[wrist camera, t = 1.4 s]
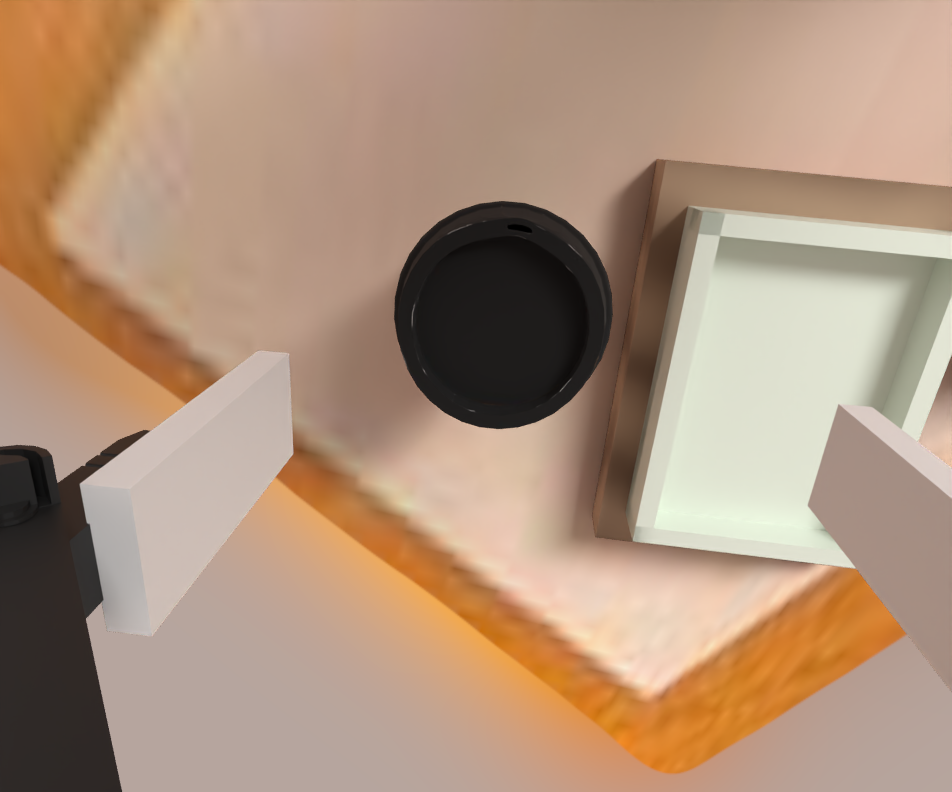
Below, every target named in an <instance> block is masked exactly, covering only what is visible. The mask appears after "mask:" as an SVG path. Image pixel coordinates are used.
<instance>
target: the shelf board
mask: <svg viewBox="0 0 952 792" xmlns="http://www.w3.org/2000/svg"><path fill="white" fill-rule="evenodd" d="M688 206H697V207H708V208H718V209H728V210H738V211H749V212H759V213H769V214H780V215H790V216H800V217H810V218H821V219H831V220H841V221H852V222H862V223H872V224H883V225H893V226H903V227H913V228H924V229H934V230H944V231H952V187H947V186H937V185H926V184H915V183H905V182H894V181H884V180H873V179H862V178H852V177H841V176H830V175H820V174H809V173H799V172H788V171H777V170H767V169H756V168H745V167H735V166H724V165H713V164H703V163H692V162H682V161H671V160H660V159H657V161H656V167H655V172H654V178H653V183H652V189H651V194H650V200H649V205H648V211H647V216H646V222H645V227H644V233H643V238H642V244H641V249H640V255H639V260H638V266H637V271H636V277H635V282H634V288H633V293H632V299H631V304H630V310H629V315H628V321H627V326H626V332H625V337H624V343H623V348H622V354H621V359H620V365H619V370H618V375H617V381H616V386H615V392H614V397H613V403H612V408H611V414H610V419H609V425H608V430H607V436H606V441H605V447H604V452H603V458H602V463H601V469H600V474H599V480H598V485H597V491H596V496H595V502H594V507H593V513H592V518H593V525H594V531H595V537H598V538H606V539H614V540H623V541H631V542H634V541H632V537H631V533H630V529H629V525H628V521H627V517H626V513H625V512H626V507H627V502H628V497H629V493H630V488H631V483H632V478H633V473H634V468H635V463H636V458H637V453H638V449H639V444H640V439H641V434H642V429H643V424H644V419H645V414H646V410H647V405H648V400H649V395H650V390H651V385H652V380H653V375H654V371H655V366H656V361H657V356H658V351H659V346H660V341H661V336H662V332H663V327H664V322H665V317H666V312H667V307H668V302H669V297H670V292H671V288H672V283H673V278H674V273H675V268H676V263H677V258H678V253H679V249H680V244H681V239H682V234H683V229H684V224H685V219H686V214H687V210H688ZM639 543H643V542H639ZM647 544H651V543H647ZM655 545H659V544H655ZM664 546H667V545H664ZM672 547H676V546H672ZM680 548H684V547H680ZM688 549H692V548H688ZM697 550H700V549H697ZM705 551H708V550H705ZM713 552H717V551H713ZM721 553H725V552H721ZM730 554H733V553H730ZM738 555H741V554H738ZM746 556H750V555H746ZM754 557H758V556H754ZM762 558H766V557H762ZM771 559H774V558H771ZM779 560H782V559H779ZM787 561H791V560H787ZM795 562H799V561H795ZM804 563H807V562H804ZM812 564H815V563H812ZM820 565H824V564H820ZM828 566H832V565H828ZM836 567H840V566H836ZM845 568H848V567H845ZM853 569H856V568H853Z"/></svg>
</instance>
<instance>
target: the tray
mask: <svg viewBox="0 0 952 792" xmlns="http://www.w3.org/2000/svg"><path fill="white" fill-rule="evenodd" d="M951 355H952V231H944V230H934V229H924V228H913V227H903V226H893V225H883V224H872V223H862V222H852V221H841V220H831V219H821V218H810V217H800V216H790V215H780V214H769V213H759V212H749V211H738V210H728V209H718V208H708V207H697V206H688V210H687V214H686V219H685V224H684V229H683V234H682V239H681V244H680V249H679V253H678V258H677V263H676V268H675V273H674V278H673V283H672V288H671V292H670V297H669V302H668V307H667V312H666V317H665V322H664V327H663V332H662V336H661V341H660V346H659V351H658V356H657V361H656V366H655V371H654V375H653V380H652V385H651V390H650V395H649V400H648V405H647V410H646V414H645V419H644V424H643V429H642V434H641V439H640V444H639V449H638V453H637V458H636V463H635V468H634V473H633V478H632V483H631V488H630V493H629V497H628V502H627V507H626V512H625V513H626V517H627V521H628V525H629V529H630V533H631V537H632V541H634V542H643V543H651V544H659V545H667V546H676V547H684V548H692V549H700V550H708V551H717V552H725V553H733V554H741V555H750V556H758V557H766V558H774V559H782V560H791V561H799V562H807V563H815V564H824V565H832V566H840V567H848V568H855V566H854V565H853V564H852V562H851V561H850V560H849V559H848V557H847V556H846V555H845V553H844V552H843V551H842V550H841V548H840V547H839V546H838V544H837V543H836V542H835V540H834V539H833V538H832V537H831V535H830V534H829V533H828V531H827V530H826V529H825V527H824V526H823V525H822V524H821V522H820V521H819V520H818V518H817V517H816V516H815V515H814V513H813V512H812V511H811V509H810V508H809V507H808V502H809V499H810V496H811V492H812V489H813V486H814V482H815V479H816V476H817V473H818V469H819V466H820V463H821V459H822V456H823V453H824V450H825V446H826V443H827V440H828V437H829V433H830V430H831V427H832V423H833V420H834V417H835V414H836V410H837V407H838V404H845V405H856V406H867V407H873V408H874V409H875V410H877V411H878V412H879V413H880V414H882V415H883V416H884V417H886V418H887V419H888V420H890V421H891V422H892V423H894V424H895V425H896V426H898V427H899V428H900V429H901V430H903V431H904V432H905V433H907V434H908V435H909V436H911V437H912V438H913V439H915V440H916V441H917V442H918V440H919V438H920V435H921V432H922V430H923V427H924V425H925V422H926V420H927V417H928V414H929V412H930V409H931V407H932V404H933V402H934V399H935V396H936V394H937V391H938V389H939V386H940V384H941V381H942V378H943V376H944V373H945V371H946V368H947V366H948V363H949V360H950V358H951Z"/></svg>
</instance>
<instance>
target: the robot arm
mask: <svg viewBox="0 0 952 792" xmlns="http://www.w3.org/2000/svg"><path fill="white" fill-rule="evenodd" d="M292 455H293V432H292V408H291V384H290V360H289V353H282V352H271V351H261V350H258V351H257V352H256V353H254V354H253V355H252V356H250V357H249V358H248V359H246V360H245V361H244V362H242V363H241V364H240V365H238V366H237V367H236V368H234V369H233V370H232V371H230V372H229V373H228V374H226V375H225V376H223V377H222V378H221V379H219V380H218V381H217V382H215V383H214V384H213V385H211V386H210V387H209V388H207V389H206V390H205V391H203V392H202V393H201V394H199V395H198V396H197V397H195V398H194V399H193V400H191V401H190V402H189V403H187V404H186V405H185V406H184V407H182V408H181V409H179V410H178V411H177V412H175V413H174V414H173V415H171V416H170V417H169V418H167V419H166V420H165V421H163V422H162V423H161V424H159V425H158V426H157V427H155V428H154V429H153V430H151V431H148V430H143V431H140V432H138V433H135V434H133V435H130V436H127V437H125V438H122V439H120V440H118V441H116V442H115V443H114V444H112V445H111V446H109V447H108V448H107V449H105V450H104V451H102V452H101V454H100V455H97V456H95V457H94V458H92V459H91V460H90V461H88V462H87V463H86V465H85V466H81V467H80V468H79V469H77V470H76V471H74V472H73V473H71V474H70V475H68V476H67V477H66V478H64V479H63V480H61V481H60V482H59V483H57V480H56V475H55V469H54V464H53V459H52V455H51V454H50V453H49V452H48V451H47V450H46V449H43V448H40V447H36V446H25V445H14V446H5V447H0V792H122V789H121V785H120V780H119V775H118V771H117V766H116V762H115V756H114V751H113V747H112V742H111V737H110V732H109V728H108V723H107V718H106V713H105V709H104V704H103V699H102V694H101V690H100V685H99V680H98V675H97V670H96V666H95V661H94V656H93V651H92V647H91V642H90V638H89V632H88V628H87V623H86V618H87V617H88V616H89V615H90V614H91V613H92V611H94V609H95V608H96V607H97V606H98V605H99V604H100V603H101V602H102V608H103V613H104V618H105V623H106V629H107V631H109V632H118V633H127V634H136V635H144V636H153V635H154V633H155V632H156V631H157V630H158V628H159V627H160V626H161V624H162V623H163V622H164V621H165V619H166V618H167V616H168V615H169V614H170V613H171V611H172V610H173V609H174V608H175V606H176V605H177V604H178V602H179V601H180V600H181V599H182V597H183V596H184V595H185V593H186V592H187V591H188V589H189V588H190V587H191V586H192V584H193V583H194V582H195V580H196V579H197V578H198V576H199V575H200V574H201V573H202V571H203V570H204V569H205V567H206V566H207V565H208V564H209V562H210V561H211V560H212V558H213V557H214V556H215V554H216V553H217V552H218V551H219V549H220V548H221V547H222V546H223V544H224V543H225V542H226V540H227V539H228V538H229V536H230V535H231V534H232V533H233V531H234V530H235V529H236V527H237V526H238V525H239V524H240V522H241V521H242V520H243V518H244V517H245V516H246V514H247V513H248V512H249V511H250V509H251V508H252V507H253V505H254V504H255V503H256V502H257V500H258V499H259V498H260V496H261V495H262V494H263V493H264V491H265V490H266V489H267V487H268V486H269V485H270V483H271V482H272V481H273V480H274V478H275V477H276V476H277V474H278V473H279V472H280V471H281V469H282V468H283V467H284V465H285V464H286V463H287V462H288V460H289V459H290V458H291V456H292ZM808 507H809V508H810V509H811V511H812V512H813V513H814V515H815V516H816V517H817V518H818V520H819V521H820V522H821V524H822V525H823V526H824V527H825V529H826V530H827V531H828V533H829V534H830V535H831V537H832V538H833V539H834V540H835V542H836V543H837V544H838V546H839V547H840V548H841V550H842V551H843V552H844V553H845V555H846V556H847V557H848V559H849V560H850V561H851V562H852V564H853V565H854V566H855V568H856V569H857V570H858V572H859V573H860V574H861V575H862V577H863V578H864V579H865V581H866V582H867V583H868V584H869V586H870V587H871V588H872V590H873V591H874V592H875V594H876V595H877V596H878V597H879V599H880V600H881V601H882V603H883V604H884V605H885V607H886V608H887V609H888V610H889V612H890V613H891V614H892V616H893V617H894V618H895V619H896V621H897V622H898V623H899V625H900V626H901V627H902V629H903V630H904V631H905V632H906V634H907V635H908V636H909V638H910V639H911V640H912V642H913V643H914V644H915V645H916V647H917V648H918V649H919V650H920V652H921V653H922V654H923V656H924V657H925V658H926V660H927V661H928V662H929V663H930V665H931V666H932V667H933V669H934V670H935V671H936V673H937V674H938V675H939V676H940V677H941V679H942V680H943V682H944V683H945V684H946V686H947V687H948V688H949V689H950V691H951V692H952V468H951V467H950V466H949V465H947V464H946V463H945V462H943V461H942V460H941V459H940V458H938V457H937V456H936V455H934V454H933V453H932V452H930V451H929V450H928V449H926V448H925V447H924V446H922V445H921V444H920V443H919V442H917V441H916V440H915V439H913V438H912V437H911V436H909V435H908V434H907V433H905V432H904V431H903V430H901V429H900V428H899V427H898V426H896V425H895V424H894V423H892V422H891V421H890V420H888V419H887V418H886V417H884V416H883V415H882V414H880V413H879V412H878V411H877V410H875V409H874V408H873V407H867V406H856V405H845V404H838V407H837V410H836V414H835V417H834V420H833V423H832V427H831V430H830V433H829V437H828V440H827V443H826V446H825V450H824V453H823V456H822V459H821V463H820V466H819V469H818V473H817V476H816V479H815V482H814V486H813V489H812V492H811V496H810V499H809V502H808Z"/></svg>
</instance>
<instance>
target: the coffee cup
mask: <svg viewBox="0 0 952 792" xmlns="http://www.w3.org/2000/svg"><path fill="white" fill-rule="evenodd" d="M612 315H613V313H612V293H611V289H610V285H609V281H608V277H607V273H606V271H605V268H604V266H603V264H602V262H601V260H600V258H599V256H598V254H597V252H596V251H595V250H594V248H593V247H592V246H591V244H590V243H589V242H588V241H587V239H586V238H585V237H584V235H582V234H581V233H580V232H579V231H578V230H577V229H575V228H574V227H573V226H572V225H571V224H569V223H568V222H567V221H566V220H564V219H562V218H560V217H558V216H557V215H555V214H553V213H551V212H549V211H548V210H545V209H542V208H539V207H536V206H532V205H529V204H526V203H517V202H506V201H499V202H491V203H482V204H477V205H474V206H471V207H468V208H465V209H462V210H459V211H457V212H455V213H453V214H452V215H450V216H448V217H446V218H445V219H443V220H441V221H439V222H438V223H437V224H436V225H435V226H434V227H433V228H431V229H430V230H429V231H428V232H427V233H426V234H425V235H424V236H423V237H422V238H421V239H420V241H419V242H418V243H417V245H416V246H415V247H414V249H413V250H412V251H411V253H410V254H409V256H408V259H407V261H406V263H405V265H404V267H403V269H402V271H401V274H400V278H399V282H398V286H397V291H396V295H395V312H394V320H395V326H396V332H397V338H398V342H399V345H400V348H401V352H402V355H403V358H404V361H405V363H406V366H407V369H408V371H409V373H410V374H411V376H412V378H413V380H414V381H415V383H416V385H417V386H418V388H419V389H420V390H421V391H422V392H423V393H424V395H425V396H426V397H427V398H428V399H429V400H430V401H431V402H432V403H433V404H435V405H436V406H437V407H438V408H440V409H441V410H442V411H443V412H445V413H446V414H448V415H450V416H452V417H454V418H456V419H458V420H460V421H462V422H465V423H468V424H471V425H475V426H478V427H484V428H494V429H504V428H515V427H521V426H524V425H528V424H531V423H535V422H537V421H539V420H541V419H544V418H546V417H548V416H550V415H552V414H554V413H555V412H556V411H558V410H559V409H560V408H561V407H563V406H564V405H565V404H567V403H568V402H569V401H570V400H571V399H572V398H573V397H574V396H575V395H576V394H577V392H578V391H579V390H580V389H581V388H582V387H583V385H584V384H585V382H586V381H587V380H588V379H589V378H590V376H591V375H592V373H593V372H594V370H595V368H596V367H597V365H598V363H599V362H600V360H601V358H602V356H603V353H604V350H605V348H606V345H607V343H608V340H609V334H610V328H611V322H612Z"/></svg>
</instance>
